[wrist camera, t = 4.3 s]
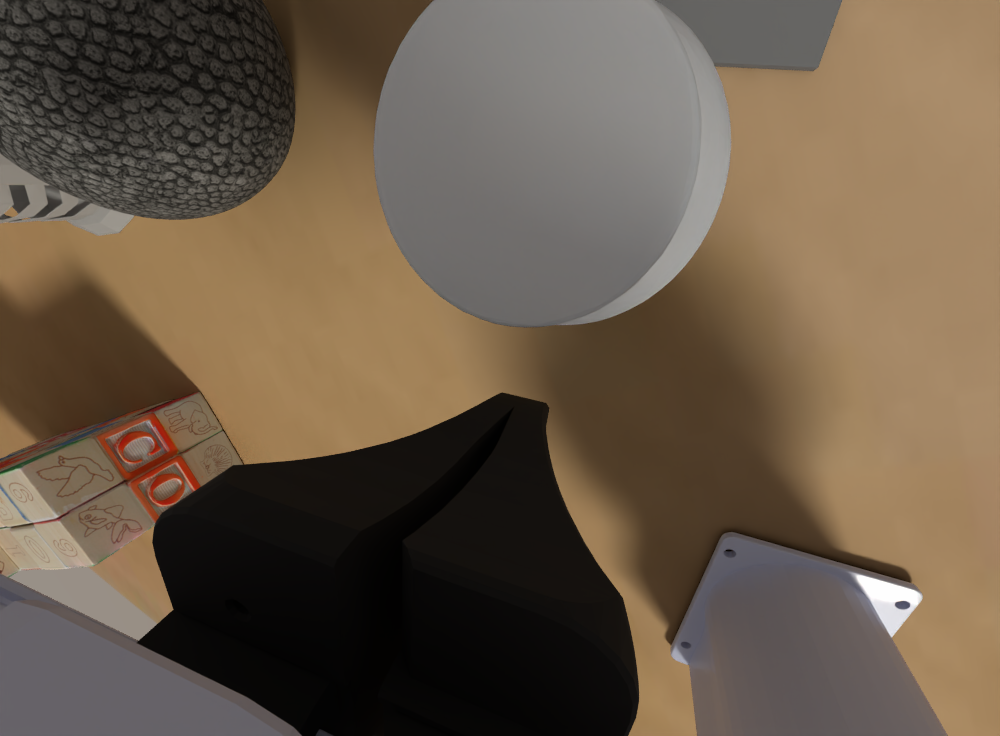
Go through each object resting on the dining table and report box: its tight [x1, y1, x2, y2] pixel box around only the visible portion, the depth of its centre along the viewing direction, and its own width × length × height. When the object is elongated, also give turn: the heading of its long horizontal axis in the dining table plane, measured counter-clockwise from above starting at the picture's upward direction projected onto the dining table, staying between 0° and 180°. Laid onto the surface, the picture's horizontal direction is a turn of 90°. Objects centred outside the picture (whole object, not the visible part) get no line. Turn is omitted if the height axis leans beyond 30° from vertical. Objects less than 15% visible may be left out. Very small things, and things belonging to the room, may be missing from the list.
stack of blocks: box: [0, 392, 243, 577], centre depth 27 cm, size 21×6×12 cm, turn 111°
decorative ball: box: [0, 0, 295, 220], centre depth 14 cm, size 10×10×10 cm
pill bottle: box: [374, 0, 731, 327], centre depth 11 cm, size 6×6×12 cm
